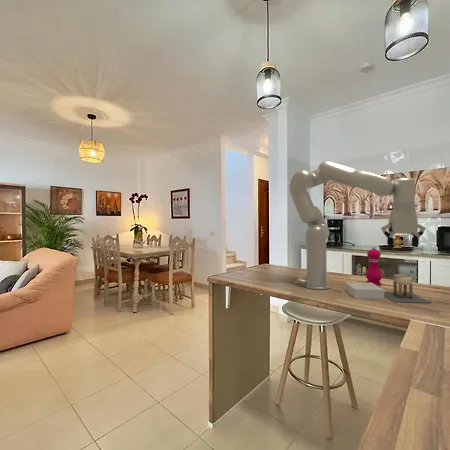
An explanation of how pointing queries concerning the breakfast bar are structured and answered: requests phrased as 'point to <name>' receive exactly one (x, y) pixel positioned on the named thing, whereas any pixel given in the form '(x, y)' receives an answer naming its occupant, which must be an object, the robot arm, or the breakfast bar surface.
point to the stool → (404, 281)
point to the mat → (405, 298)
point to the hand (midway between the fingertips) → (402, 246)
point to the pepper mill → (373, 267)
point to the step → (364, 290)
